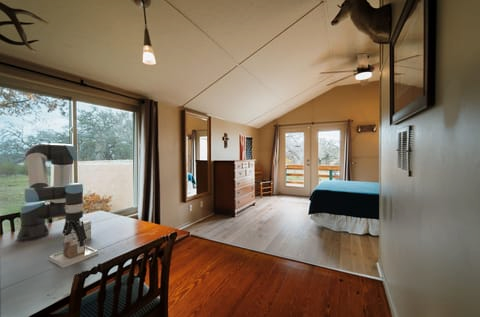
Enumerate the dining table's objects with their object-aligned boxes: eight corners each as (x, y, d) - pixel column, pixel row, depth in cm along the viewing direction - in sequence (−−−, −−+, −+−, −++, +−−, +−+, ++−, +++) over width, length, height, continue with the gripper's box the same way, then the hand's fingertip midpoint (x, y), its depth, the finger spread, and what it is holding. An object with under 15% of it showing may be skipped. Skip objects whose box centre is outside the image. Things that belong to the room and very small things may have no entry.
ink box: (78, 243, 126) (78, 224, 126) (72, 242, 127) (72, 224, 127) (91, 237, 135) (91, 220, 135) (85, 236, 136) (85, 219, 136)
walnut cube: (63, 255, 109) (63, 243, 108) (78, 250, 115) (78, 238, 115) (69, 259, 105) (69, 246, 105) (84, 253, 112) (84, 241, 112)
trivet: (48, 259, 107) (48, 256, 107) (83, 247, 121) (83, 244, 121) (63, 267, 99) (63, 264, 99) (98, 253, 114) (98, 250, 114)
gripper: (54, 209, 112) (55, 246, 112) (77, 216, 101) (77, 257, 101) (71, 206, 118) (71, 241, 119) (94, 212, 107) (94, 251, 108)
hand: (74, 249), depth 110 cm, fingers open, 13 cm apart
